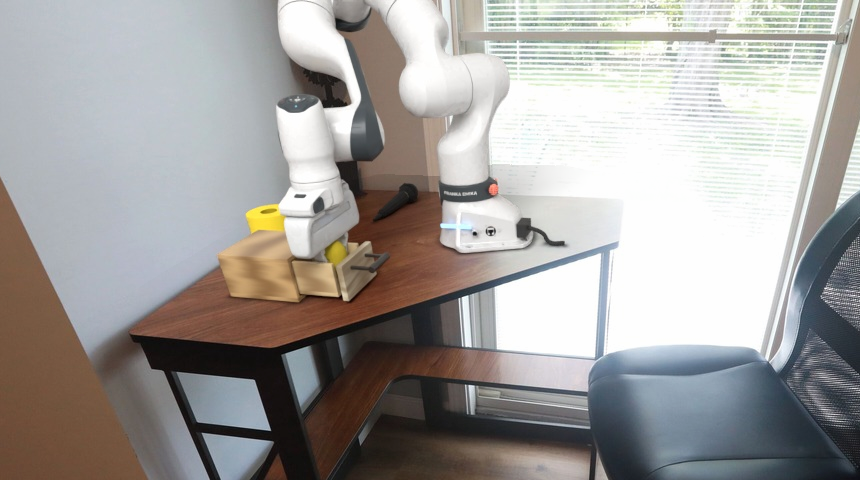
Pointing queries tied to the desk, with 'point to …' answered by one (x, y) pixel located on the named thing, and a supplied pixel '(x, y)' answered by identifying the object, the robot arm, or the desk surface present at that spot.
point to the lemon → (335, 253)
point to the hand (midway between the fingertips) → (334, 261)
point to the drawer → (338, 272)
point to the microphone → (399, 200)
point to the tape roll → (265, 218)
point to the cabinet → (260, 267)
